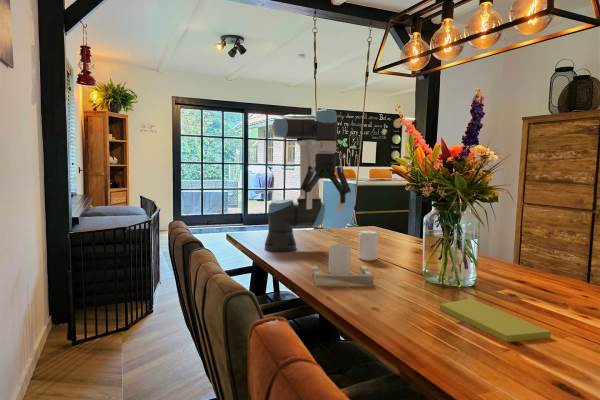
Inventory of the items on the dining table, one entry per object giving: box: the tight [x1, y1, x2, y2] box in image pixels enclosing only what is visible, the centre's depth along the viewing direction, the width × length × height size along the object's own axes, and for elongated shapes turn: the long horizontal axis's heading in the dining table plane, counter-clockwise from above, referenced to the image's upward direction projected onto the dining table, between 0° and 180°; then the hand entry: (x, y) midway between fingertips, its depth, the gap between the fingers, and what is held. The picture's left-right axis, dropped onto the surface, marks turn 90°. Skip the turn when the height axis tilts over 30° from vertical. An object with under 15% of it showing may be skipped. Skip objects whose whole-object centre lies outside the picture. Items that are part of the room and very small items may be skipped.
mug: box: [328, 243, 352, 274], centre depth 147 cm, size 12×8×10 cm
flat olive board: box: [439, 298, 552, 343], centre depth 102 cm, size 12×2×24 cm
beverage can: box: [357, 229, 379, 262], centre depth 167 cm, size 8×8×12 cm
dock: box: [312, 265, 375, 287], centre depth 137 cm, size 13×20×4 cm, turn 92°
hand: (324, 210), depth 144 cm, fingers open, 13 cm apart
